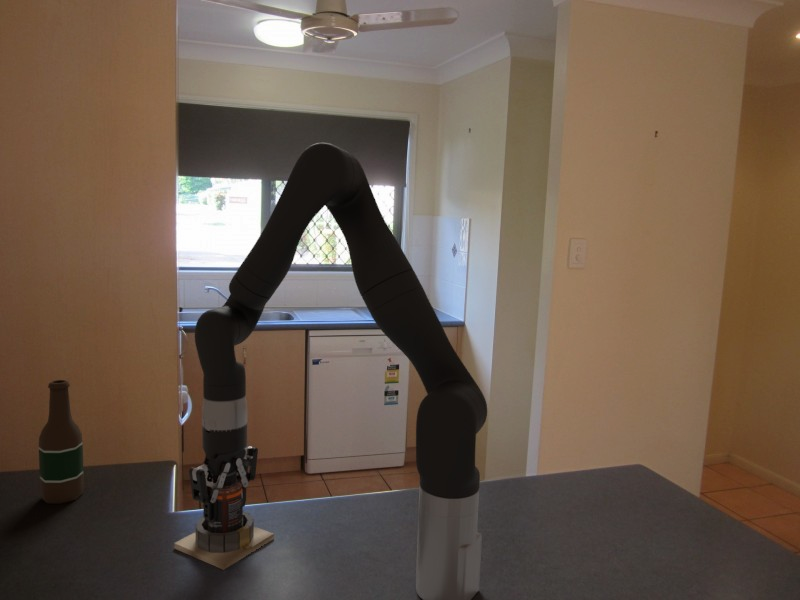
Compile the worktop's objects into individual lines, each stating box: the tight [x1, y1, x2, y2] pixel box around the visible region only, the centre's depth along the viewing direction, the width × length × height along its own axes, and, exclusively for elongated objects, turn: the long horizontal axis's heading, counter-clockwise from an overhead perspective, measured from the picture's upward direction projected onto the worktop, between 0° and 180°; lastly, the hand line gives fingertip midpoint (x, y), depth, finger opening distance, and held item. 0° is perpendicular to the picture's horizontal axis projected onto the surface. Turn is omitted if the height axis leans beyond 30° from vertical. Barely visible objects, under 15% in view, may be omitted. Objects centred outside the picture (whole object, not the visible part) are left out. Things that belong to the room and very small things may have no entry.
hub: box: [173, 510, 275, 571], centre depth 108 cm, size 12×12×4 cm
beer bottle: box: [38, 379, 85, 505], centre depth 123 cm, size 8×8×24 cm
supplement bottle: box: [208, 471, 244, 533], centre depth 108 cm, size 6×6×11 cm
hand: (225, 513), depth 108 cm, fingers closed on supplement bottle, 6 cm apart
